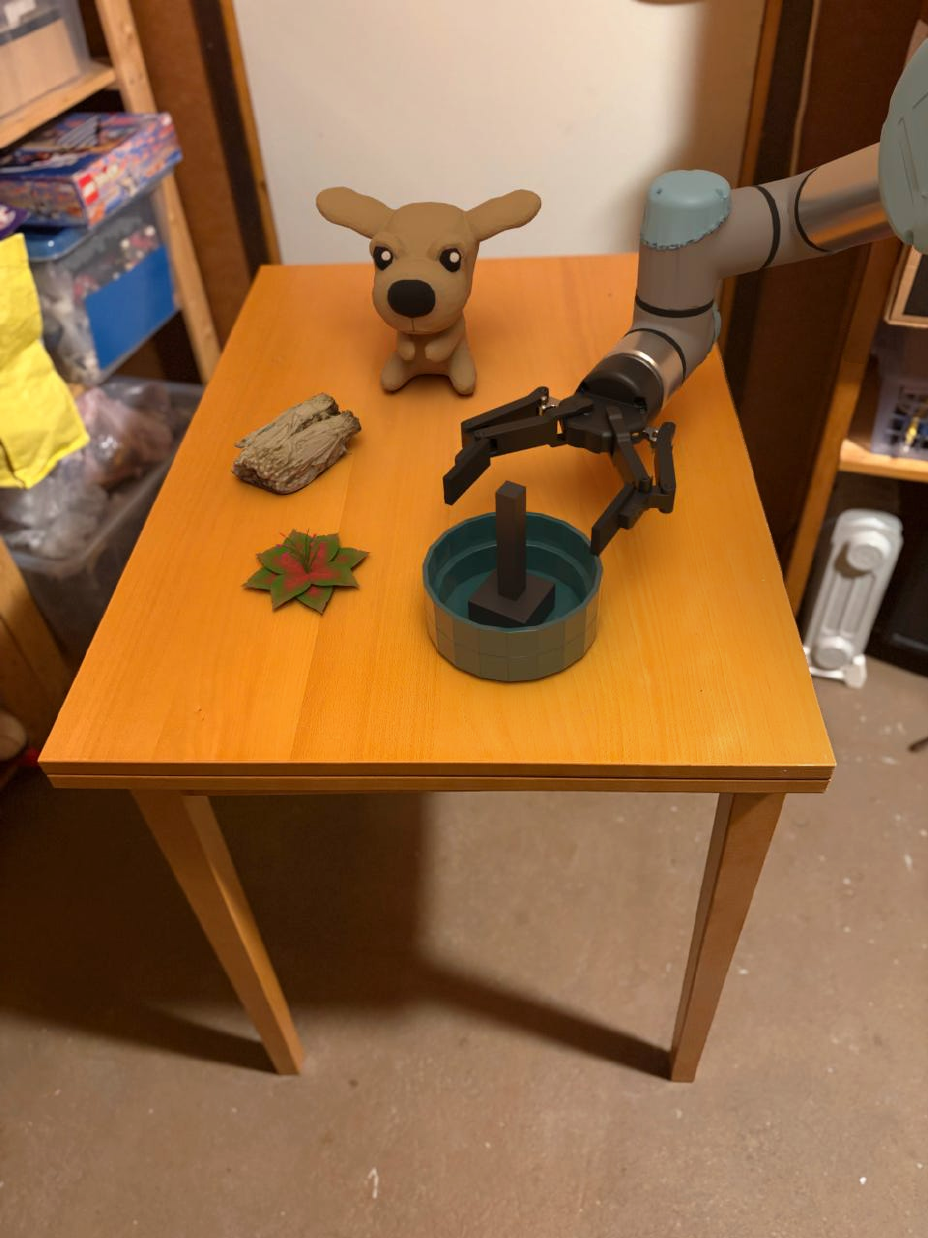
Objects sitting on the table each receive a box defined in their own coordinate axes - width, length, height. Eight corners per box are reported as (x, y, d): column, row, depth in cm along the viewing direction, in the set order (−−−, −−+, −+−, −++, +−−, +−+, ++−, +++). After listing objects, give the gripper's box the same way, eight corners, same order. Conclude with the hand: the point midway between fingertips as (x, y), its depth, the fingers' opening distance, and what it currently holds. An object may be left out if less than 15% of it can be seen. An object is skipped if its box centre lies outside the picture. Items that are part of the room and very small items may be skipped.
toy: (313, 412, 107) (281, 241, 93) (353, 328, 121) (331, 168, 107) (527, 423, 104) (528, 247, 90) (544, 336, 117) (547, 170, 103)
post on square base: (555, 607, 82) (559, 480, 72) (524, 647, 79) (524, 520, 69) (500, 586, 85) (497, 460, 75) (468, 625, 81) (461, 498, 71)
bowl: (625, 598, 84) (631, 543, 79) (547, 711, 75) (549, 657, 70) (483, 545, 90) (481, 492, 85) (395, 645, 81) (387, 591, 76)
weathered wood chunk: (311, 417, 107) (303, 376, 103) (372, 445, 102) (367, 402, 98) (215, 480, 99) (203, 437, 95) (278, 513, 95) (268, 469, 91)
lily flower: (393, 552, 90) (388, 515, 86) (327, 634, 82) (320, 597, 79) (290, 521, 94) (281, 484, 90) (218, 597, 86) (206, 560, 83)
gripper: (750, 459, 85) (658, 601, 73) (512, 391, 95) (395, 507, 82) (765, 387, 80) (668, 527, 67) (511, 323, 89) (387, 436, 77)
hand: (518, 516), depth 75 cm, fingers open, 13 cm apart
